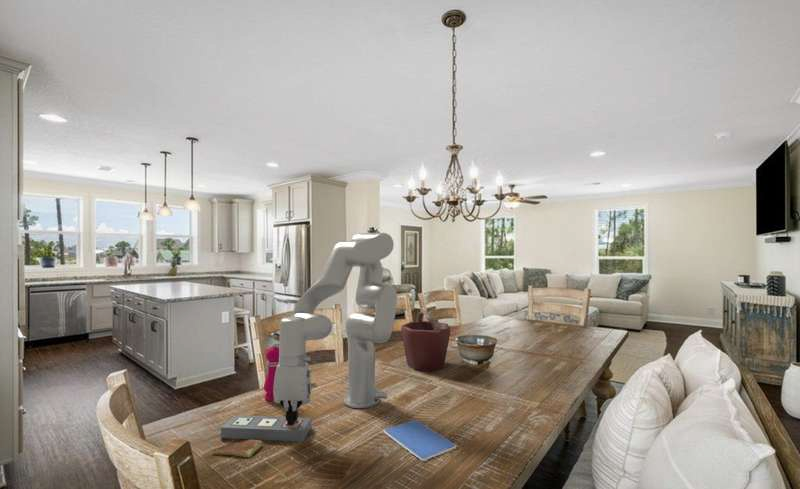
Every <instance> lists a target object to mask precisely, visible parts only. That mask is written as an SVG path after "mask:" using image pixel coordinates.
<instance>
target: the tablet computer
mask: <svg viewBox="0 0 800 489" xmlns="http://www.w3.org/2000/svg"><path fill="white" fill-rule="evenodd" d="M382 433H383V434H385V435H386V436H387V437H389V438H390V439H392V440H393V441H394V442H396V443H397V444H398V445H399V446H400V447H402V448H403V449H404V450H406V451H407V450H408V451H409V452H408V451H407V452H408V453H410V454H411V455H412V454H413V455H415V456H416V457H418V458H419V459H420V460H427V459H429V458H432V457H435V456H437V455H440V454H442V453H444V452H447V451H449V450H452V449H454V448H456V447H457V448H458V446H457V444H455V443H453V441H451V440H449V439H447V438H446V437H443V435H440V434H439V433H437V432H436V431H434V430H432V429H431V428H429V427H428V426H427V425H425V424H423V423H422V422H420V421H418V420H416V419H414V420H410V421H407V422H404V423H401V424H397V425H394V426H391V427H389V428H388V427H387V428H385V429H383V431H382ZM452 451H453V450H452ZM447 453H448V452H447ZM413 455H412V456H413ZM415 456H414V457H415ZM440 456H441V455H440ZM416 457H415V458H416ZM435 458H436V457H435ZM420 460H419V461H420Z"/></svg>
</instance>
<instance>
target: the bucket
mask: <svg viewBox="0 0 800 489" xmlns="http://www.w3.org/2000/svg"><path fill="white" fill-rule="evenodd" d="M424 316H425V318H426V319H427V321H425V320H424V321H423V318H424ZM400 327H401V337H402V343H403V348H404V354H405V359H406V364H407V366H408V367H409V368H411V369H413V371H420V372H430V373H431V372H434V371H440V370H443V369H444V368H445V363H446V358H447V352H448V347H449V341H450V336H451V327H450V325H449V324H448V323H445V322H438V321H436V320H435V318H434V317H433V316H432V315H431V313H430V312H428V310H427V311H424V310H423V311H419V312H418V314H417V316H416V321H409V322H407V323H404V324H402V325H401V326H400Z"/></svg>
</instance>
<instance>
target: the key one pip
mask: <svg viewBox="0 0 800 489" xmlns="http://www.w3.org/2000/svg"><path fill="white" fill-rule="evenodd" d="M277 421H278V419H263V420H262V421H261V422H260V423H259V424H258V425H257V426H260V427H273V425H274V424H275V423H276V422H277Z"/></svg>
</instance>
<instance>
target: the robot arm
mask: <svg viewBox="0 0 800 489" xmlns="http://www.w3.org/2000/svg"><path fill="white" fill-rule="evenodd" d="M394 243H395V242H394V239H393V238H392V236H391V235H390V234H389V233H386V232H361V233H360V232H359V233H357V234H354V235H353V236H352V238H351V240H347V241H340V242H337V243H336V244H335V245H334V246H333V249H332V250H331V252H330V254H329V257H328V259H327V262H326V264H325V266H324V269H323V271H322V272H321V274H320V277H319V279H318V280H317V281H316V282H315V283H314V284H312V285H311V286H310V287H309V288H308V289H307V290H306V291H305V292H303V294H302V295H301V296H300V297H299V299H298V301H297V303H296V305H295V307H294V309H293V311H292V314H291V316H286V317H284V318H282V319H281V320H280V321H279V329H278V330H279V334H278V335H279V339H278V340H279V341H278V344H279V345H278V347H279V364H278V365H277V368H276V372H275V378H274V389H273V395H274V401H273V402H274V403H276V404H278V405H279V404H280V405H281V407H282V408H284V411H285V417H286V421H287V425H293V424H294V423H295V422H296V421H297V419H298V418H299V416H298V415H299V412H298V411H299V408H301V406H303V405H308V404H309V403H310V402H311V397H310V395H311V394H312V379H311V378H312V377H311V373H310V369H311V368H310V365H309V363H308V362H310V361H311V356H308V355H307V341H317V340H318V341H319V340H323V339H325V338H326V337H328V336H329V335H330V334H331V332H332V330H333V323H332V320H331V318H329V317H328V316H327V315H323V314H321V313H314V312H315V310H316V308H317V307H318V306H319V305H320V304H321V303H322V302H323V301H325V300H327V299H328V298H330V297H333V296H335V295H337V294H339V293H341V292H342V291H343V290H344V289H345V287H346V284H347V281H348V279H349V277H350V274H351V272H352V270H353V268H354V267H359V274H358V275H359V276H358V281H357V285H356V286H357V287H356V291H355V303H356V305H357V306H358V307H359V308H363V309H367V310H373V311H374V310H375V313H372V312H365V311H356V312H353V313H351V314H350V315H348V317H347V319H346V321H345V334H346V337H347V345H348V350H347V351H348V353H347V354H348V356H347V358H348V360H347V365H348V366H347V367H348V368H347V372H348V373H347V377H348V378H347V394H346V395H345V396H344V397H343V404H344V405H345V406H347V407H349V408H353V409H367V408H371V407H373V406H376V405H378V403H379V402H380V399H388V392H386V391H385V390H379V389H377V385H376V349H375V344H374V343H376V344H383V343H384V344H385V343H386V342H388V341H389V340H390V338H391V336H392V333H393V329H394V324H395V318H396V314H397V313H396V312H397V306H398V294H397V291H396V288H395V287H394V286H393V285H391V284H389V283H384V282H383V283H382V281H383V275H384V274H383V273H384V267H383V265H382V262H381V260H383V259H385V258H387V257H389V256H390V254H392V252H393V250H394V246H395V245H394ZM309 368H310V369H309ZM292 401H293V403H292Z"/></svg>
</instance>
